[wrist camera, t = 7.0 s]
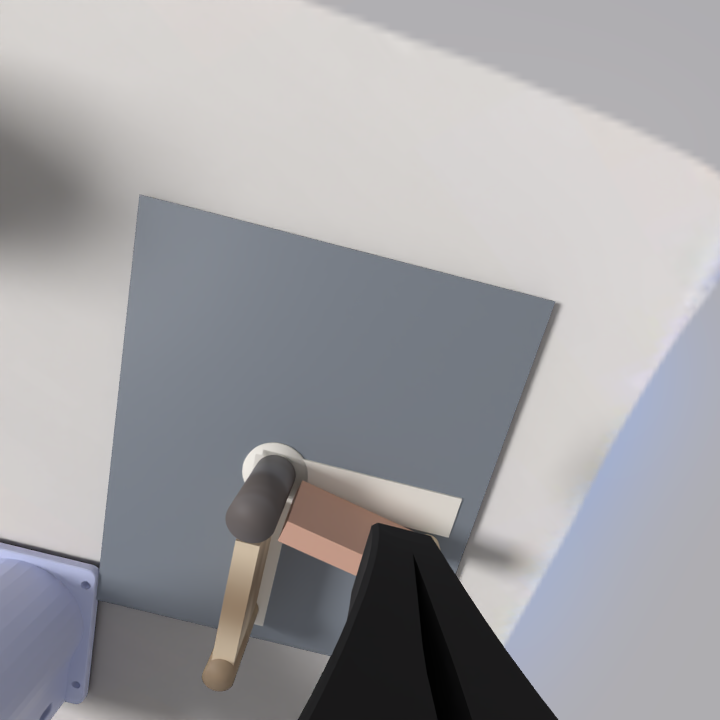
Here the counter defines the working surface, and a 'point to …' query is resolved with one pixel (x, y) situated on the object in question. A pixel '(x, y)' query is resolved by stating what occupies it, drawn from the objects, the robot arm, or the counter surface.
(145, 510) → the board
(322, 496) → the pink slab
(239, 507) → the base
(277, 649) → the counter surface
